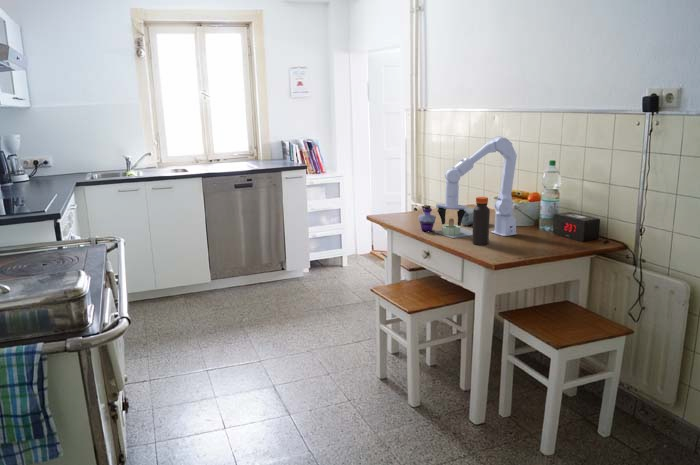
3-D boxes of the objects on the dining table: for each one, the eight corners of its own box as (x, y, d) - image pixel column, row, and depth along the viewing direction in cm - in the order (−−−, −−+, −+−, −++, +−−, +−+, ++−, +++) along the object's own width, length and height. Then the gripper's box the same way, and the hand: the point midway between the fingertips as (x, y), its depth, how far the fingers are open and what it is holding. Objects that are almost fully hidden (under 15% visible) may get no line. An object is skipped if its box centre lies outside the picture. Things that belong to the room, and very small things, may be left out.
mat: (481, 234, 263) (481, 233, 263) (452, 238, 256) (452, 237, 256) (462, 228, 276) (462, 227, 275) (434, 232, 269) (434, 231, 269)
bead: (463, 233, 264) (463, 227, 263) (449, 235, 260) (449, 229, 259) (452, 230, 271) (453, 223, 270) (438, 232, 267) (438, 225, 267)
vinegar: (469, 242, 249) (470, 197, 245) (482, 240, 252) (484, 195, 247) (477, 246, 243) (479, 199, 238) (491, 244, 245) (493, 198, 241)
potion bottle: (430, 227, 278) (431, 203, 275) (439, 231, 270) (439, 206, 267) (414, 229, 275) (414, 204, 272) (422, 233, 267) (423, 207, 264)
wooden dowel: (454, 232, 265) (454, 218, 264) (451, 233, 264) (451, 219, 262) (451, 232, 267) (451, 217, 265) (447, 232, 266) (448, 218, 264)
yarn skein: (465, 221, 276) (465, 202, 278) (455, 226, 284) (455, 207, 287) (489, 226, 279) (490, 207, 282) (479, 231, 288) (480, 212, 291)
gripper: (470, 195, 261) (469, 224, 264) (440, 193, 268) (439, 221, 272) (464, 197, 255) (464, 227, 258) (434, 195, 263) (434, 224, 266)
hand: (451, 224), depth 265 cm, fingers open, 7 cm apart
